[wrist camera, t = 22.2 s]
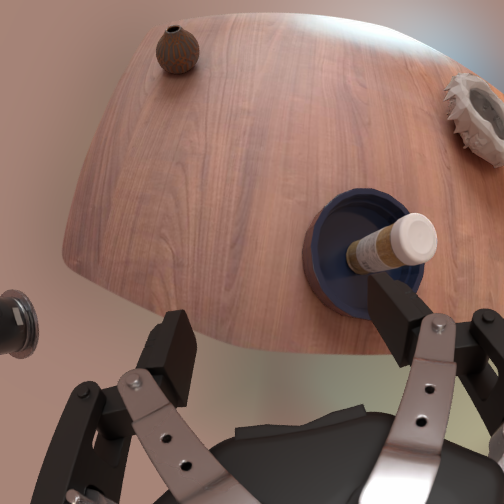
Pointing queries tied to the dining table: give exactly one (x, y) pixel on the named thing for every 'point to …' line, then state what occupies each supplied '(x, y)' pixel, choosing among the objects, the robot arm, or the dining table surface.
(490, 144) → the bowl
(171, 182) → the dining table surface
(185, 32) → the vase
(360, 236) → the pan
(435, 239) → the sprinkles bottle
